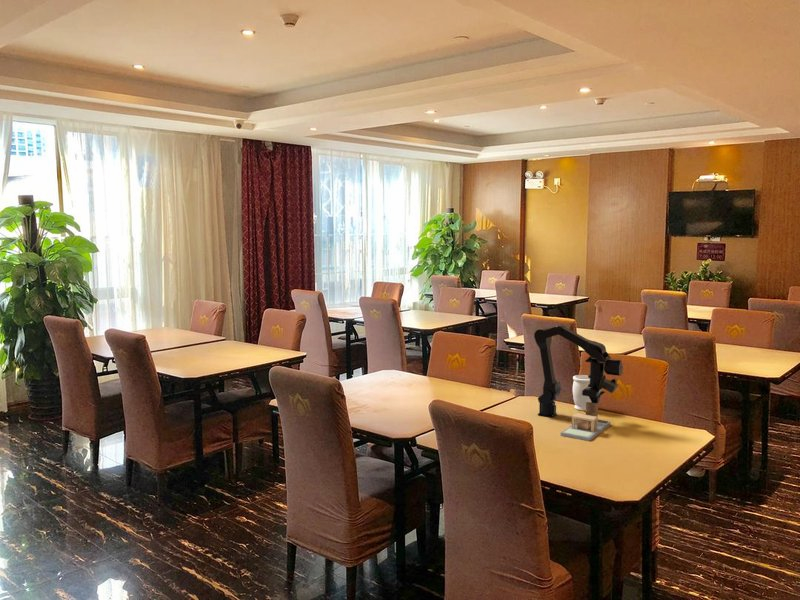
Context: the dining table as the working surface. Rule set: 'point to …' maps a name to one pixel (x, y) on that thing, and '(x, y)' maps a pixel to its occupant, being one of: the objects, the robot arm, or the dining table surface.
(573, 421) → the bridge deck
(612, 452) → the dining table surface
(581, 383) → the jar
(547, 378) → the robot arm
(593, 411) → the wooden block
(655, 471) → the dining table surface
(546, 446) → the dining table surface
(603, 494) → the dining table surface
